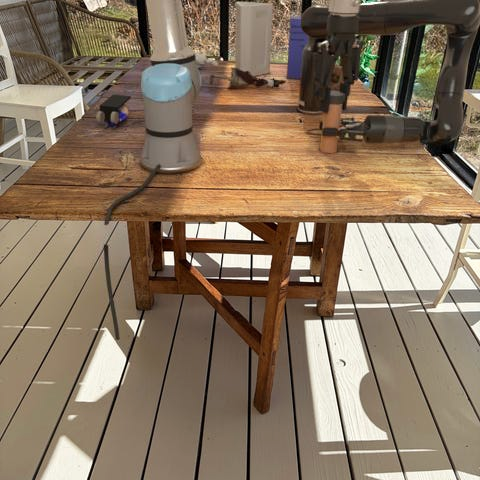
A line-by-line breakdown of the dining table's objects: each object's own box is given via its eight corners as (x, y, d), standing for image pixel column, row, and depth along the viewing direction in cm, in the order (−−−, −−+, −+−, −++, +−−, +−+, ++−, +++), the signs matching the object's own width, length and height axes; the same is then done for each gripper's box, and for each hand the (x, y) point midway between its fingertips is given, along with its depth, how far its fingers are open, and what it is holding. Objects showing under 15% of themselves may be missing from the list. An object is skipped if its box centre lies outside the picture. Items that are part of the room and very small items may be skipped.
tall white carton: (273, 76, 210) (276, 6, 196) (239, 77, 209) (240, 6, 194) (266, 67, 226) (268, 2, 212) (235, 67, 225) (235, 1, 210)
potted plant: (332, 93, 201) (333, 95, 187) (318, 79, 200) (318, 79, 186) (355, 70, 197) (357, 69, 183) (340, 55, 196) (341, 53, 182)
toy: (173, 75, 210) (172, 58, 207) (149, 64, 228) (148, 49, 224) (220, 69, 222) (220, 53, 218) (194, 59, 239) (193, 45, 236)
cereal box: (326, 77, 211) (332, 17, 198) (327, 79, 206) (333, 19, 194) (286, 76, 211) (290, 16, 199) (287, 78, 207) (290, 18, 195)
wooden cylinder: (337, 153, 131) (344, 98, 123) (320, 152, 131) (326, 97, 123) (335, 147, 135) (342, 93, 127) (319, 147, 135) (324, 92, 127)
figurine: (210, 87, 179) (288, 95, 182) (212, 65, 176) (291, 73, 180) (208, 84, 201) (278, 91, 205) (210, 64, 198) (280, 71, 202)
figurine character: (119, 135, 145) (134, 115, 156) (115, 111, 140) (131, 93, 152) (98, 134, 145) (114, 114, 157) (93, 110, 141) (110, 92, 152)
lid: (336, 97, 129) (337, 89, 128) (348, 102, 125) (349, 94, 124) (319, 99, 127) (320, 91, 126) (331, 104, 123) (332, 96, 122)
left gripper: (323, 17, 108) (314, 118, 120) (383, 14, 116) (368, 109, 128) (303, 14, 114) (296, 111, 126) (361, 11, 122) (349, 102, 134)
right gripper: (379, 108, 134) (318, 107, 134) (392, 124, 122) (326, 123, 122) (374, 134, 138) (315, 133, 138) (387, 152, 125) (323, 151, 125)
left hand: (332, 109), depth 127 cm, fingers closed on lid, 5 cm apart
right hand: (321, 128), depth 130 cm, fingers closed on wooden cylinder, 4 cm apart
